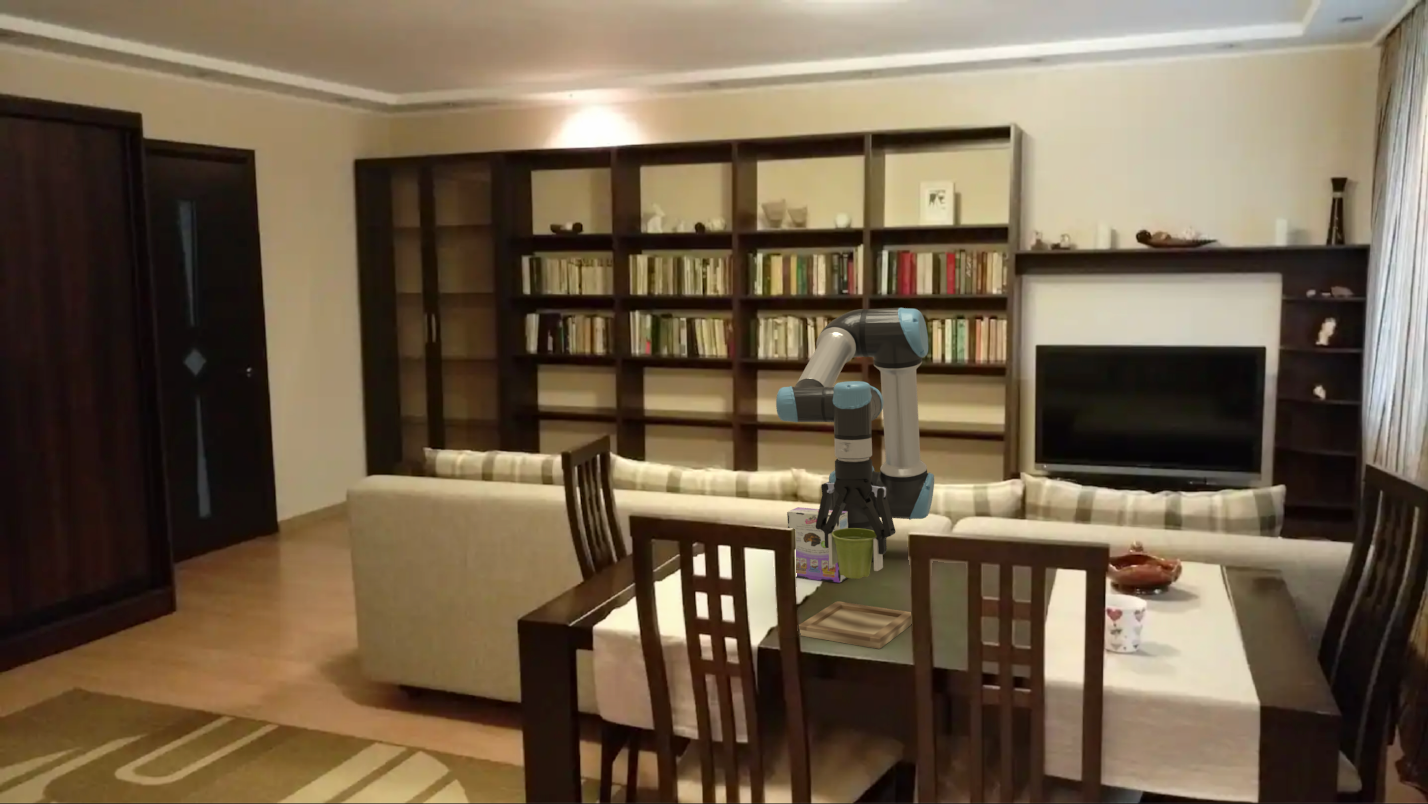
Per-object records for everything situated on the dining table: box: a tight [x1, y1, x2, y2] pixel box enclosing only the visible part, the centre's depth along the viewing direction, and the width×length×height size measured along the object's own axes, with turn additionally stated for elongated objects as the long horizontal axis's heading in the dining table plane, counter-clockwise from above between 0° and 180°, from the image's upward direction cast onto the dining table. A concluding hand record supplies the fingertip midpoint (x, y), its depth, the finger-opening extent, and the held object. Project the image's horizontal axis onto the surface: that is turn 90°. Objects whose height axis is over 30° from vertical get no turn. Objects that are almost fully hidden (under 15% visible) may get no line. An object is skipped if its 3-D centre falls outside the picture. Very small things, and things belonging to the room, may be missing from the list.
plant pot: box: [832, 528, 877, 580], centre depth 216 cm, size 9×9×9 cm
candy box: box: [786, 507, 848, 584], centre depth 255 cm, size 14×6×16 cm, turn 58°
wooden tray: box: [798, 600, 911, 650], centre depth 218 cm, size 18×18×2 cm
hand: (855, 566), depth 217 cm, fingers closed on plant pot, 9 cm apart
